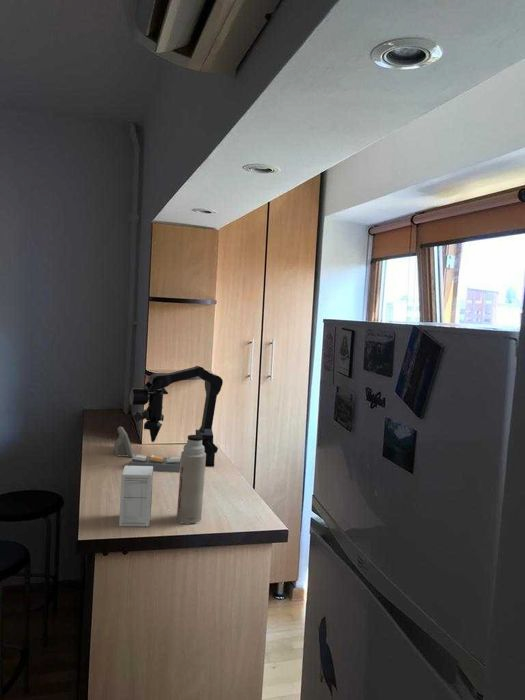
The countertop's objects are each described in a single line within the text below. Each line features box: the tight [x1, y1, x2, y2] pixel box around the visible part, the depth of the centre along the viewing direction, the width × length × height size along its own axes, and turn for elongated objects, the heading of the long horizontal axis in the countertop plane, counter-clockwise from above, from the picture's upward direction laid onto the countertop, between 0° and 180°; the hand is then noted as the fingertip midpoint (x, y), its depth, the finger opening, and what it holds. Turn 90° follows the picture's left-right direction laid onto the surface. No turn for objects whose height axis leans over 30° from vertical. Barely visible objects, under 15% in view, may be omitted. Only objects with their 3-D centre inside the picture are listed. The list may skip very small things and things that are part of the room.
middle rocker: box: [149, 454, 164, 462], centre depth 229 cm, size 5×3×1 cm, turn 95°
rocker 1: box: [131, 453, 146, 461], centre depth 228 cm, size 5×3×1 cm, turn 95°
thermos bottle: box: [176, 434, 206, 524], centre depth 180 cm, size 8×8×28 cm
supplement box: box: [118, 465, 154, 528], centre depth 176 cm, size 10×9×17 cm
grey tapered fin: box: [113, 426, 135, 458], centre depth 247 cm, size 16×9×11 cm, turn 12°
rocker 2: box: [166, 455, 181, 462], centre depth 229 cm, size 5×3×1 cm, turn 95°
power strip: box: [130, 455, 181, 474], centre depth 231 cm, size 20×10×3 cm, turn 95°
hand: (152, 441), depth 228 cm, fingers closed
